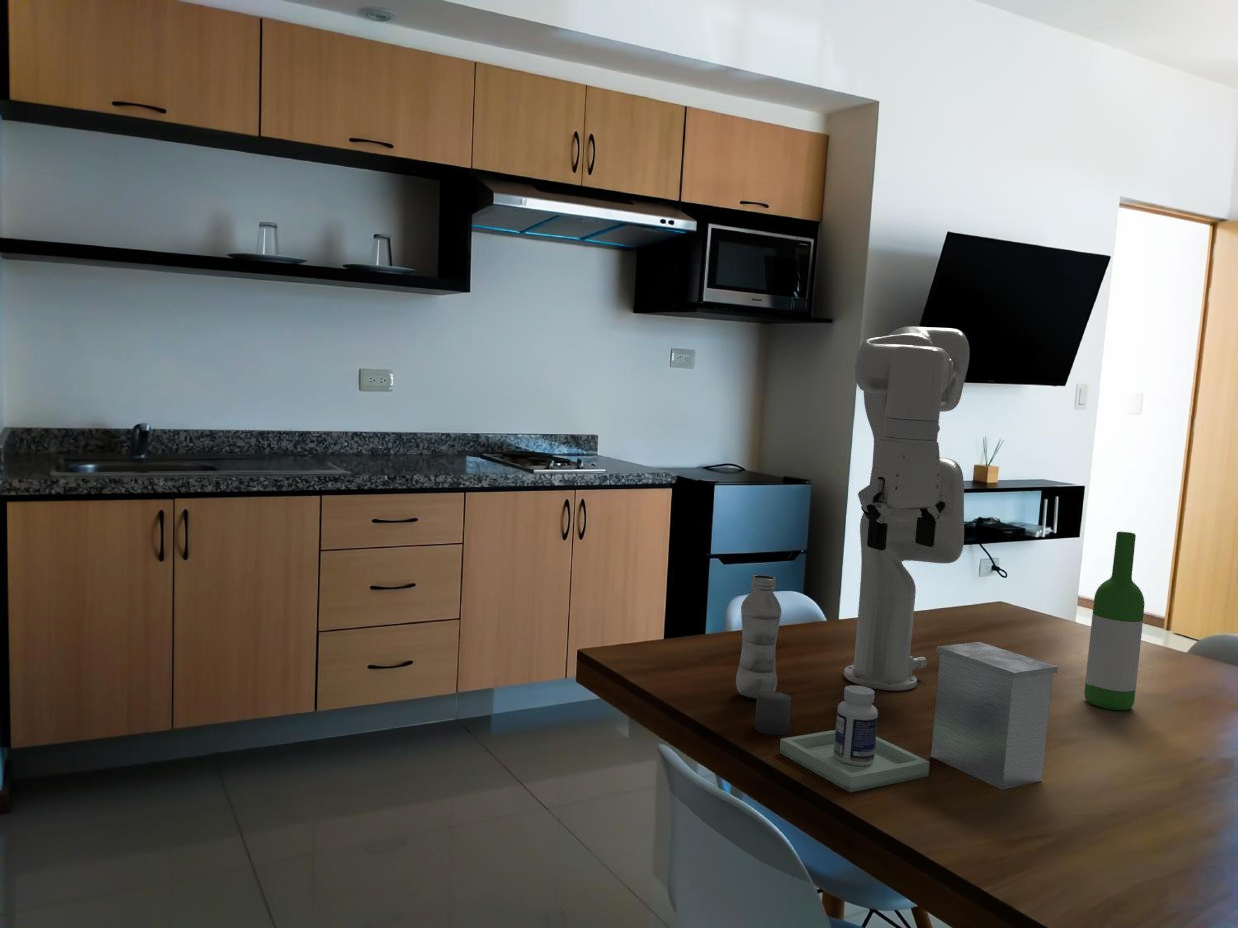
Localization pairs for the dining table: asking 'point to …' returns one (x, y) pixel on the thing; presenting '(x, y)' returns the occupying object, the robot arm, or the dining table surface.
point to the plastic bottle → (759, 638)
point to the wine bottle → (1116, 633)
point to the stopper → (772, 713)
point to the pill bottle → (856, 727)
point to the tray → (883, 771)
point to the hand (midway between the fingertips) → (900, 546)
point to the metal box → (992, 713)
